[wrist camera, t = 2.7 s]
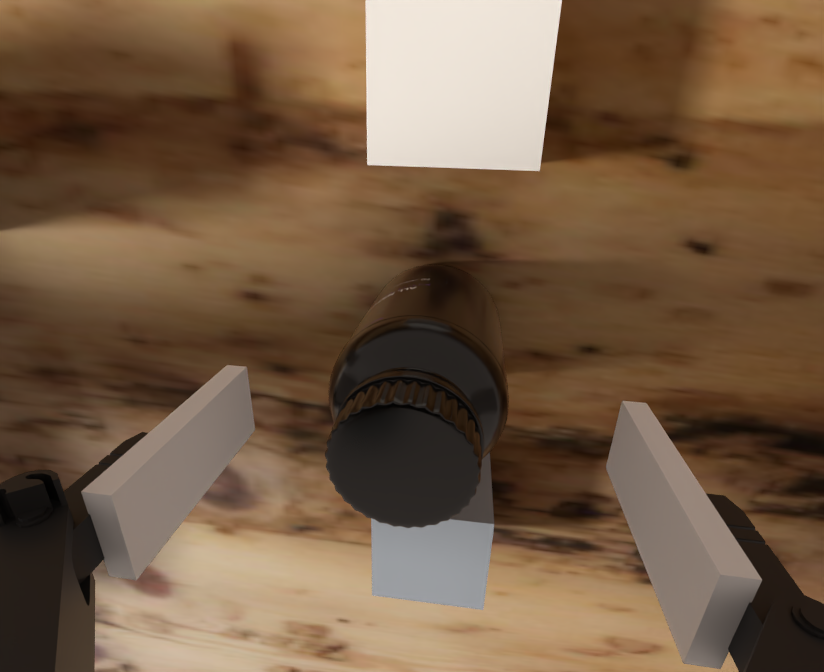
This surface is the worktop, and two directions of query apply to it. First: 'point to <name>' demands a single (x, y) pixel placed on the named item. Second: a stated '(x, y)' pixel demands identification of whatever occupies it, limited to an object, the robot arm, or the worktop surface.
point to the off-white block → (459, 82)
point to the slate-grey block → (438, 554)
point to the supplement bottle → (418, 399)
